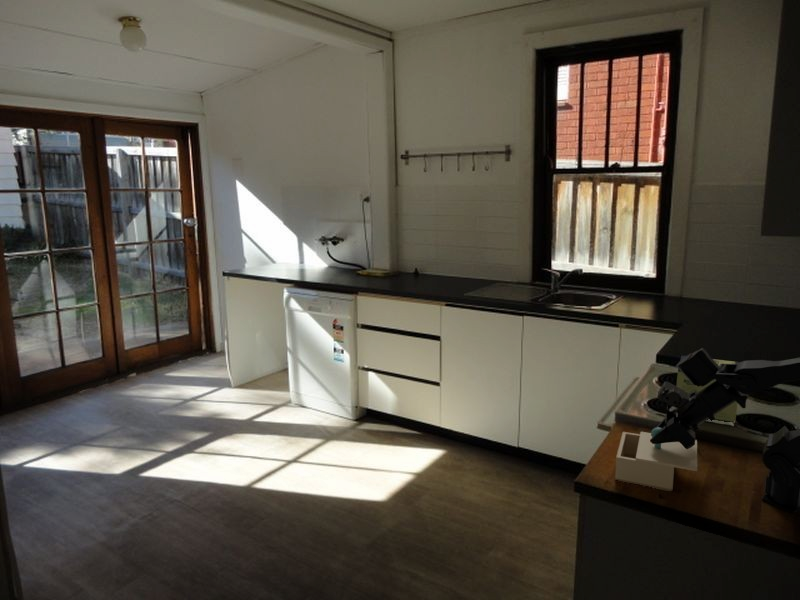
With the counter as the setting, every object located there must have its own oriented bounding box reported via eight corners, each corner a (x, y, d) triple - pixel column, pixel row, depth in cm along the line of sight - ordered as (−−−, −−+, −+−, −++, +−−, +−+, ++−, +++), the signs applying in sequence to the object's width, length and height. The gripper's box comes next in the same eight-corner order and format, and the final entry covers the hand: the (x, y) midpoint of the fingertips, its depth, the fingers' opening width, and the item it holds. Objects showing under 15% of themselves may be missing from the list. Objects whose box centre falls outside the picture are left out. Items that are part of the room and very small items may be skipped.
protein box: (736, 427, 159) (741, 373, 155) (673, 417, 166) (677, 365, 163) (735, 413, 168) (741, 361, 164) (676, 404, 175) (680, 354, 172)
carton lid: (696, 442, 139) (698, 421, 137) (697, 471, 126) (699, 448, 125) (640, 433, 144) (641, 413, 143) (635, 460, 131) (636, 438, 130)
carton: (674, 462, 142) (675, 440, 140) (672, 491, 130) (674, 467, 128) (621, 453, 147) (622, 431, 146) (615, 480, 135) (616, 457, 133)
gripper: (683, 361, 138) (630, 398, 145) (681, 388, 122) (622, 428, 129) (718, 396, 136) (663, 432, 144) (721, 429, 120) (659, 468, 127)
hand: (651, 439), depth 136 cm, fingers closed on carton lid, 3 cm apart
